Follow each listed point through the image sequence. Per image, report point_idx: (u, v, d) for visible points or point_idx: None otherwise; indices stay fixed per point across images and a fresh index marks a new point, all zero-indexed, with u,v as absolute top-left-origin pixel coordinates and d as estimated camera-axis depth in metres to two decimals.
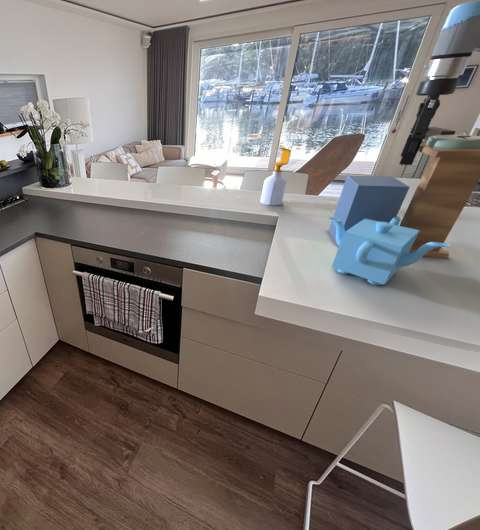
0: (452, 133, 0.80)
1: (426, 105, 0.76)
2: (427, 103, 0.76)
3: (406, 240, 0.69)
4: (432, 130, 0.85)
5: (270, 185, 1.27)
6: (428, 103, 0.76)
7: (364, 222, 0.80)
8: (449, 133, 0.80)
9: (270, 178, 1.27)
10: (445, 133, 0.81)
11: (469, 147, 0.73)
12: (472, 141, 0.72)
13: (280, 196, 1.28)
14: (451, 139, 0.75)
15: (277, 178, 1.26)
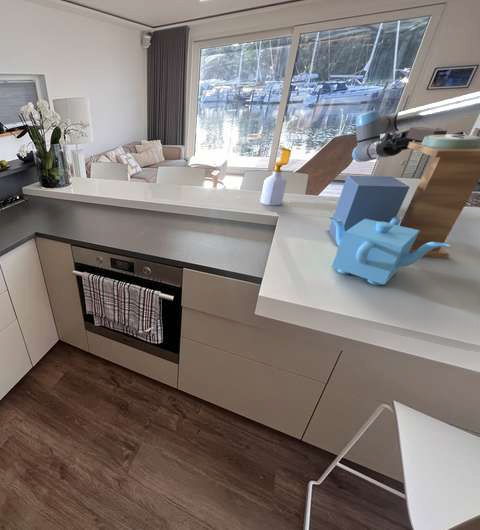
0: (444, 133, 0.81)
1: (378, 144, 1.08)
2: (377, 145, 1.08)
3: (406, 240, 0.69)
4: (422, 130, 0.86)
5: (270, 185, 1.27)
6: (378, 144, 1.08)
7: (364, 222, 0.80)
8: (441, 133, 0.81)
9: (270, 178, 1.27)
10: (437, 133, 0.82)
11: (467, 146, 0.74)
12: (470, 141, 0.73)
13: (280, 196, 1.28)
14: (449, 139, 0.75)
15: (277, 178, 1.26)
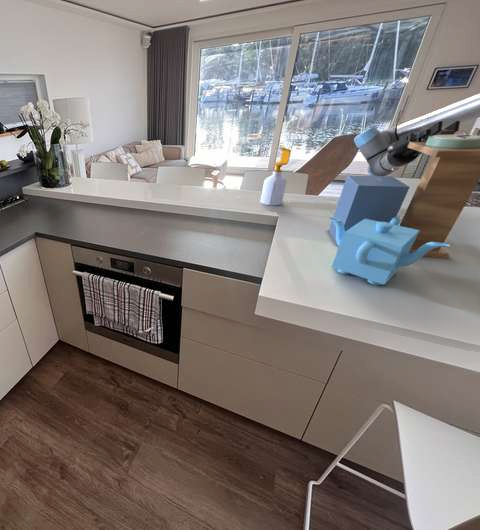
0: (452, 133, 0.80)
1: (390, 150, 0.97)
2: (389, 150, 0.98)
3: (406, 240, 0.69)
4: None
5: (270, 185, 1.27)
6: (389, 149, 0.98)
7: (364, 222, 0.80)
8: (449, 133, 0.81)
9: (270, 178, 1.27)
10: (445, 133, 0.81)
11: (469, 147, 0.73)
12: (472, 141, 0.72)
13: (280, 196, 1.28)
14: (451, 139, 0.75)
15: (277, 178, 1.26)
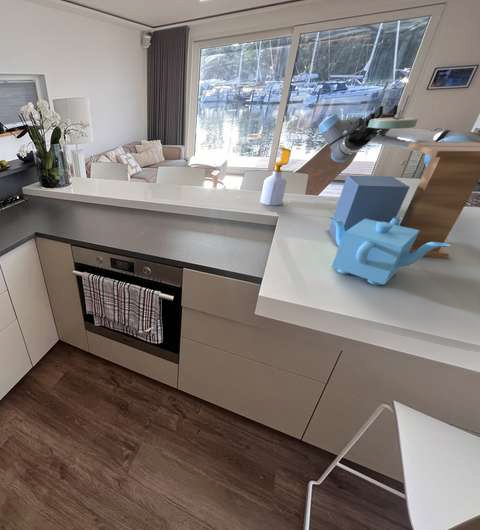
0: (391, 116, 0.90)
1: (344, 134, 1.07)
2: (343, 134, 1.07)
3: (406, 240, 0.69)
4: None
5: (270, 185, 1.27)
6: (343, 134, 1.07)
7: (364, 222, 0.80)
8: (388, 116, 0.90)
9: (270, 178, 1.27)
10: (385, 116, 0.90)
11: (400, 127, 0.83)
12: (403, 121, 0.82)
13: (280, 196, 1.28)
14: (386, 120, 0.84)
15: (277, 178, 1.26)
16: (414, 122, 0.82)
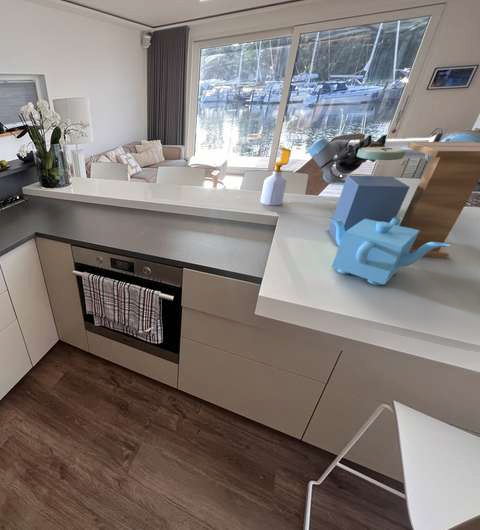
0: (379, 145, 0.90)
1: (335, 159, 1.07)
2: (334, 159, 1.07)
3: (406, 240, 0.69)
4: None
5: (270, 185, 1.27)
6: (334, 159, 1.07)
7: (364, 222, 0.80)
8: (377, 145, 0.90)
9: (270, 178, 1.27)
10: (373, 145, 0.91)
11: (388, 159, 0.83)
12: (390, 153, 0.82)
13: (280, 196, 1.28)
14: (374, 151, 0.85)
15: (277, 178, 1.26)
16: (402, 154, 0.83)
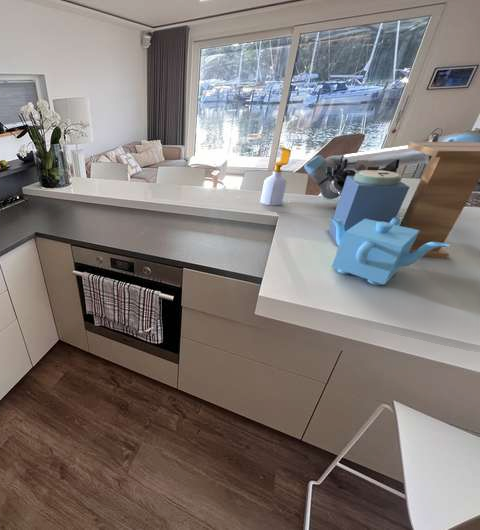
0: (376, 169, 0.90)
1: (328, 179, 1.09)
2: (328, 179, 1.09)
3: (406, 240, 0.69)
4: (362, 164, 0.95)
5: (270, 185, 1.27)
6: (328, 178, 1.09)
7: (364, 222, 0.80)
8: (374, 169, 0.90)
9: (270, 178, 1.27)
10: (371, 168, 0.91)
11: (385, 184, 0.83)
12: (387, 179, 0.82)
13: (280, 196, 1.28)
14: (371, 176, 0.85)
15: (277, 178, 1.26)
16: (398, 180, 0.83)
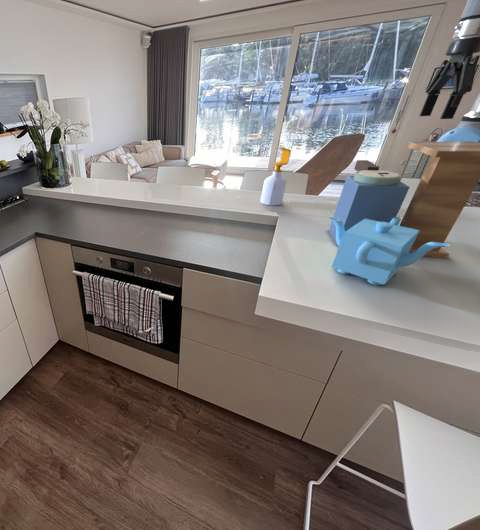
0: (376, 169, 0.90)
1: (468, 61, 0.84)
2: (469, 59, 0.83)
3: (406, 240, 0.69)
4: (362, 164, 0.95)
5: (270, 185, 1.27)
6: (470, 59, 0.83)
7: (364, 222, 0.80)
8: (374, 169, 0.90)
9: (270, 178, 1.27)
10: (371, 168, 0.91)
11: (385, 184, 0.83)
12: (387, 179, 0.82)
13: (280, 196, 1.28)
14: (371, 176, 0.85)
15: (277, 178, 1.26)
16: (398, 180, 0.83)
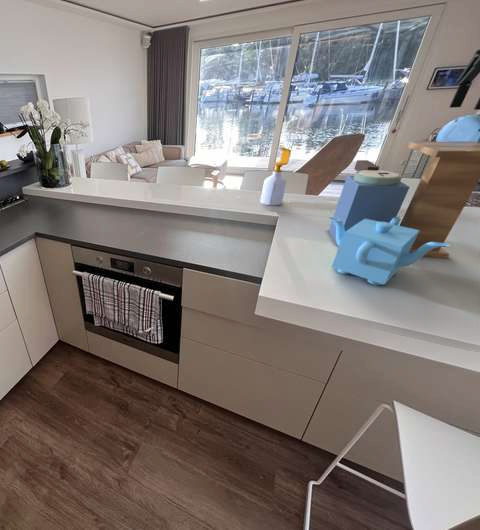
0: (376, 169, 0.90)
1: None
2: None
3: (406, 240, 0.69)
4: (362, 164, 0.95)
5: (270, 185, 1.27)
6: None
7: (364, 222, 0.80)
8: (374, 169, 0.90)
9: (270, 178, 1.27)
10: (371, 168, 0.91)
11: (385, 184, 0.83)
12: (387, 179, 0.82)
13: (280, 196, 1.28)
14: (371, 176, 0.85)
15: (277, 178, 1.26)
16: (398, 180, 0.83)
